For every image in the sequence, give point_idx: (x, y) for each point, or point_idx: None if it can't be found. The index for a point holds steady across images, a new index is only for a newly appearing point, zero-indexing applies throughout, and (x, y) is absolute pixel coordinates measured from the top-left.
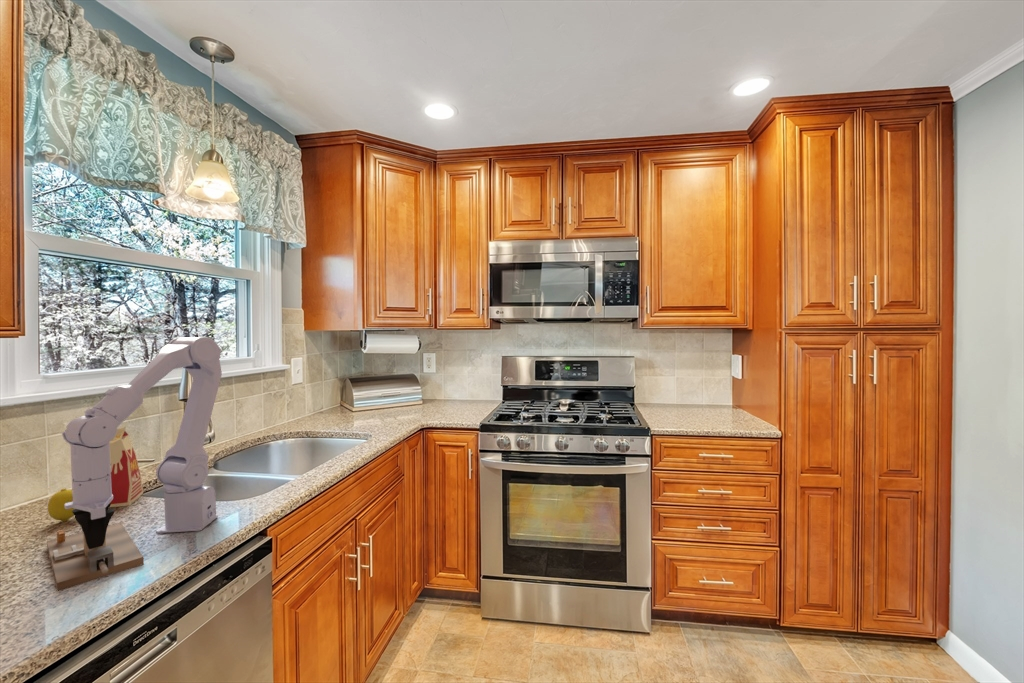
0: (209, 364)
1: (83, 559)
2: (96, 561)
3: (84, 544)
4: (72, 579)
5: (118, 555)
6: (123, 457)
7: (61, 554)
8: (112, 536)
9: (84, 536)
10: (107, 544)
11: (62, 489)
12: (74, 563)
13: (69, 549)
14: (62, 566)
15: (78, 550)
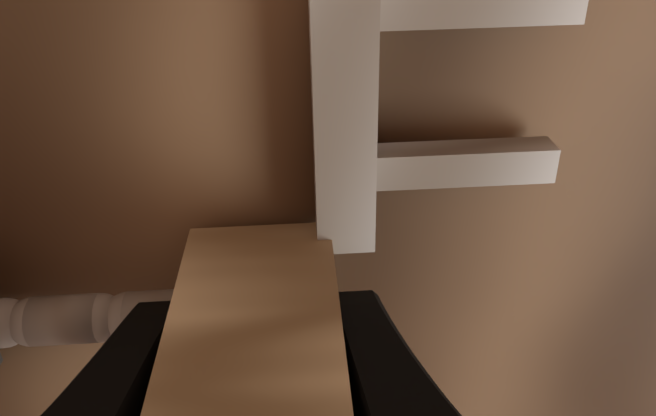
0: None
1: (155, 203)
2: (11, 282)
3: (242, 293)
4: None
5: (38, 403)
6: None
7: (353, 56)
8: (569, 390)
9: (192, 381)
10: None
11: None
12: (96, 136)
13: (589, 114)
14: (95, 38)
15: (328, 200)
